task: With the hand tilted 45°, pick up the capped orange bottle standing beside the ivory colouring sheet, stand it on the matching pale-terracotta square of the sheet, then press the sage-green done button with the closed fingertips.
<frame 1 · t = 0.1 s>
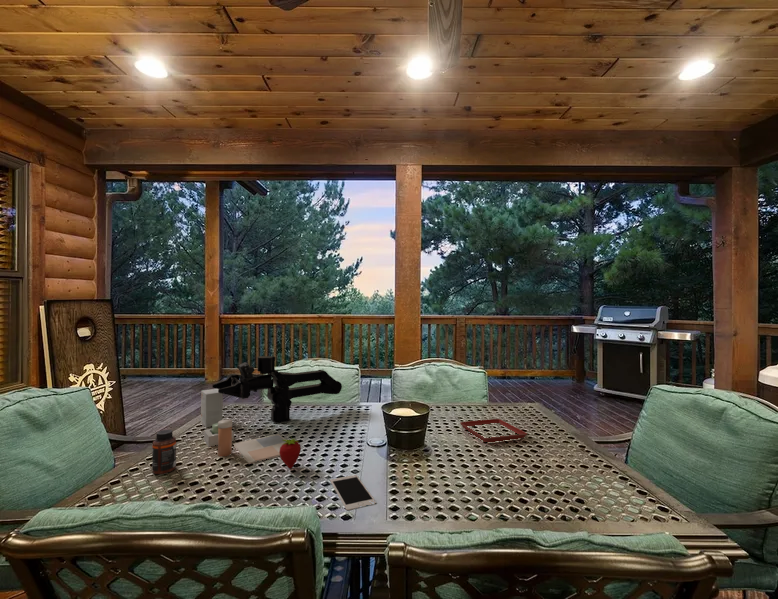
hand: (215, 388, 138), 17 cm above the table, tool horizontal, fingers open, 9 cm apart
cell phone: (351, 493, 97), on the table
decorative fruit: (290, 469, 110), on the table
red square frame: (492, 436, 139), on the table
supplement bottle: (164, 471, 107), on the table
capped orange bottle: (224, 454, 119), on the table
small box: (211, 424, 148), on the table
button housing: (218, 440, 130), on the table
done button: (218, 429, 130), point 4 cm above the table, slide at 0.0 cm
sheet: (265, 448, 124), on the table
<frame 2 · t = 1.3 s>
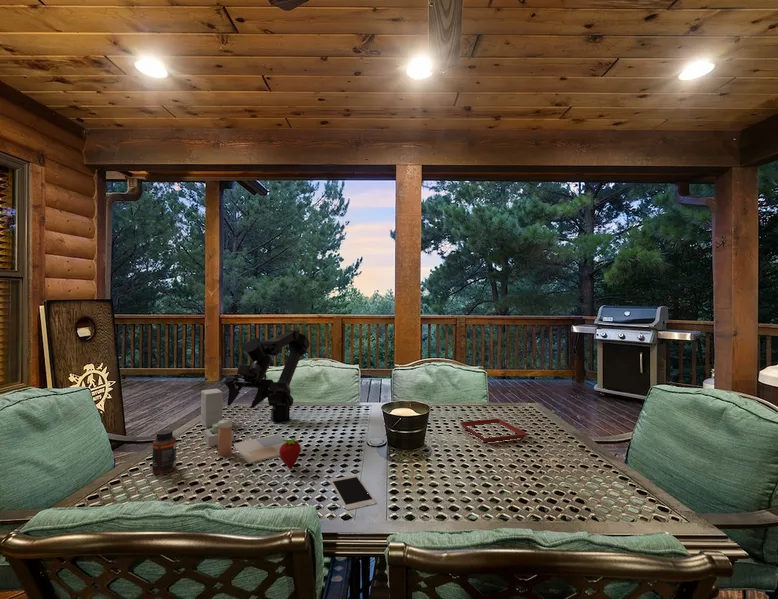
hand: (239, 406, 127), 13 cm above the table, tool tilted 45°, fingers open, 9 cm apart
nothing on the table moved.
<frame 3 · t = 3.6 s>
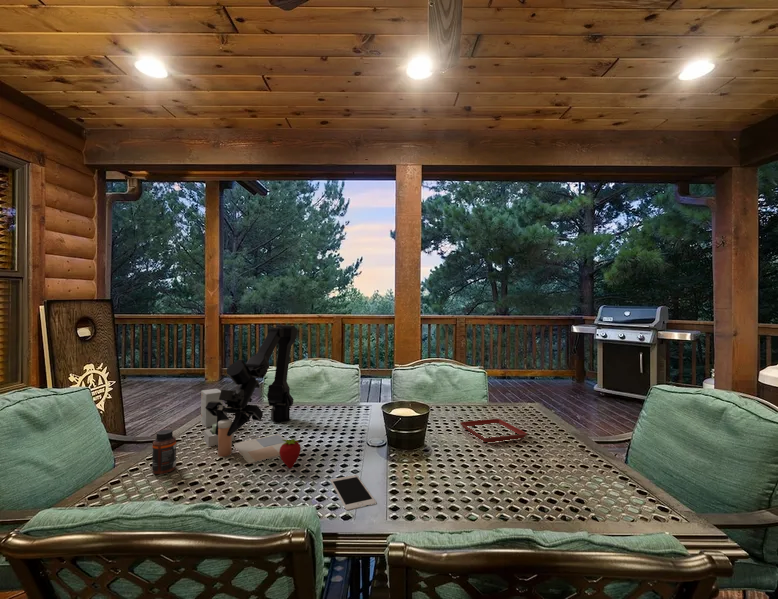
hand: (222, 435, 118), 7 cm above the table, tool tilted 45°, fingers closed on capped orange bottle, 4 cm apart
capped orange bottle: (224, 454, 119), on the table, touching gripper
everything else where it was.
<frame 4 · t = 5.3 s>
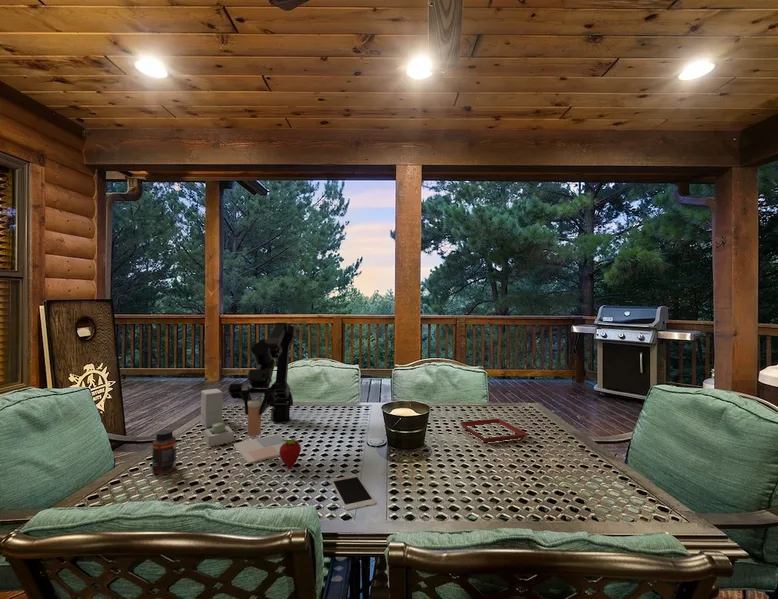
hand: (253, 414, 117), 13 cm above the table, tool tilted 45°, fingers closed on capped orange bottle, 4 cm apart
capped orange bottle: (254, 433, 119), point 7 cm above the table, touching gripper
everything else where it was.
when the fingers open (8 cm above the table, at t = 6.8 s): capped orange bottle stays where it is, resting on sheet.
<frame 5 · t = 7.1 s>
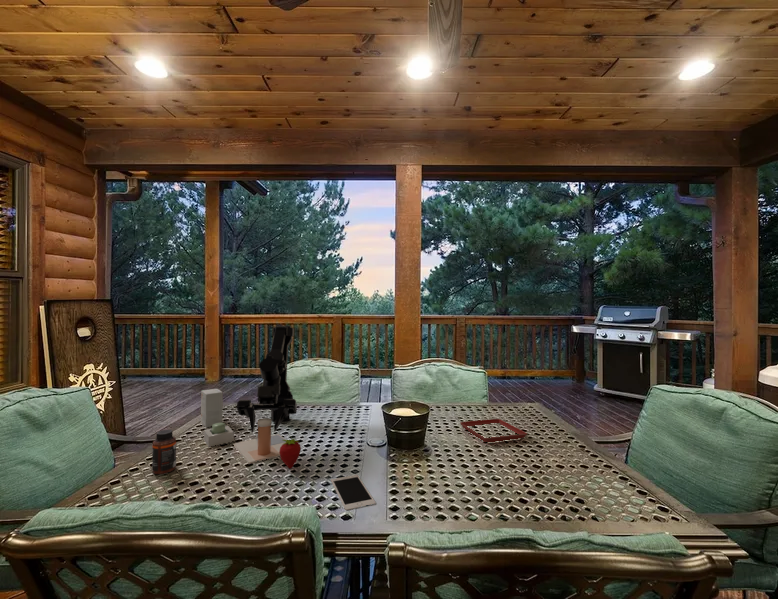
hand: (263, 431, 118), 8 cm above the table, tool tilted 45°, fingers open, 7 cm apart
capped orange bottle: (264, 452, 119), point 1 cm above the table, touching sheet
everything else where it was.
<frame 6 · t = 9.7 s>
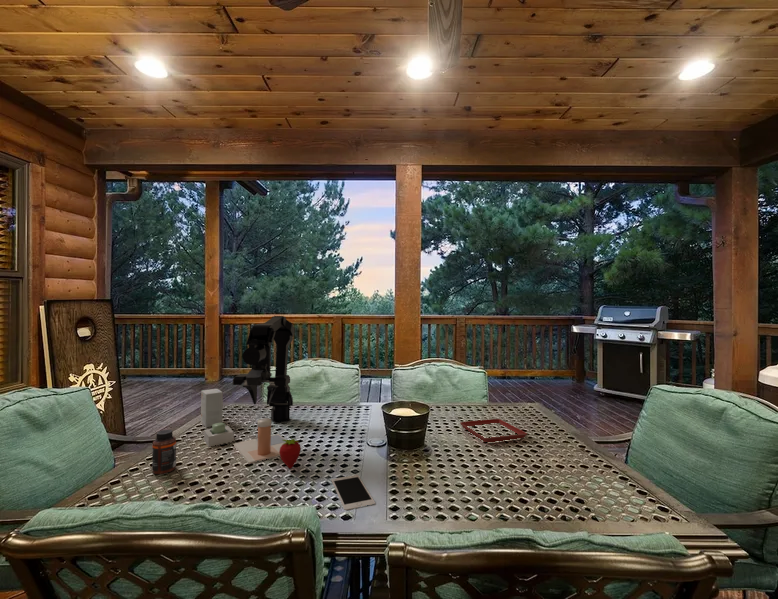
hand: (261, 404, 130), 13 cm above the table, tool pointing down, fingers open, 4 cm apart
nothing on the table moved.
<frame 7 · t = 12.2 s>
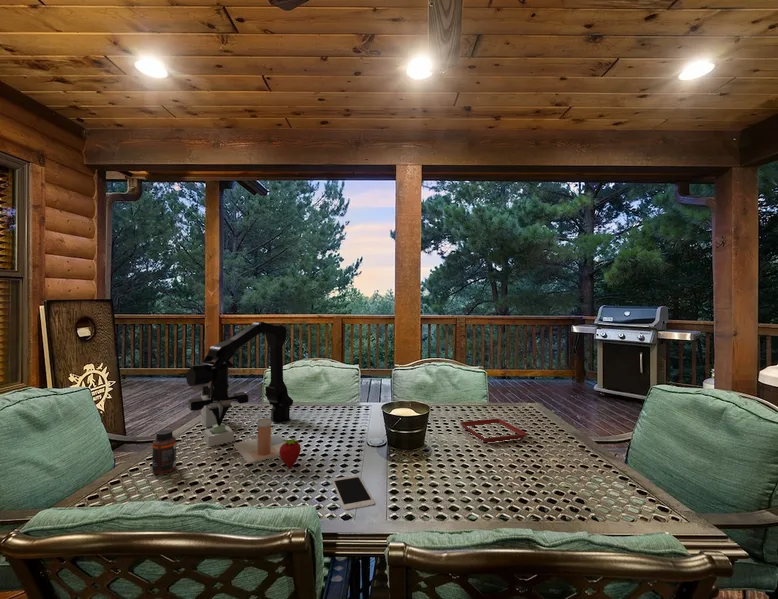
hand: (218, 425, 130), 5 cm above the table, tool pointing down, fingers closed, pressing on done button
done button: (218, 430, 130), point 4 cm above the table, slide at 0.2 cm, touching gripper
everything else where it was.
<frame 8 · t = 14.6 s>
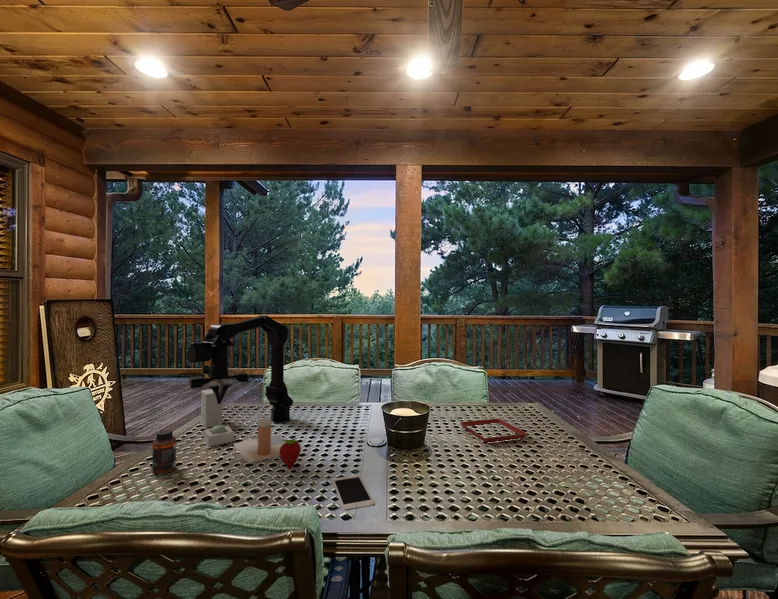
hand: (219, 403, 130), 13 cm above the table, tool pointing down, fingers closed
done button: (218, 431, 130), point 3 cm above the table, slide at 0.8 cm
everything else where it was.
at the end: capped orange bottle inside the target area on the sheet (0.0 cm from its centre), point 0.6 cm above the sheet's base; capped orange bottle tilted 0°; done button slide at 0.8 cm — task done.
